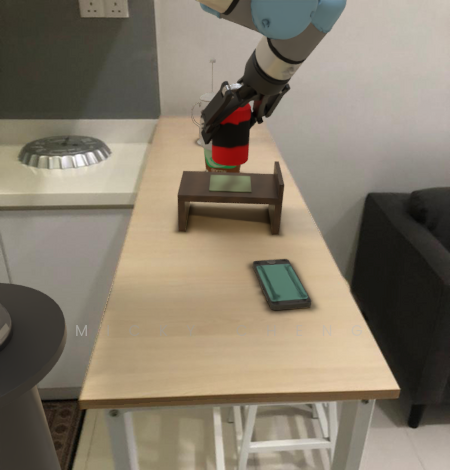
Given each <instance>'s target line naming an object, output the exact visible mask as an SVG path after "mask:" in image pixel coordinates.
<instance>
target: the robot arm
mask: <svg viewBox="0 0 450 470" xmlns="http://www.w3.org/2000/svg"><path fill="white" fill-rule="evenodd" d="M195 1H196V2H198V3H199V6H200V8H201V9H202V11H203V12H205V13H207V14H211V15H212V16H215V17H216V18H218V19H219V20H221V19H223V20H226V21H229V22H231V23H233V24H236V25H239V26H241V27H244V28H246V29H249V30H251V31H253V32H256V33H259V34H260V35H261V37H260V40H259V41H258V42H257V44H256V47H255V48H254V49H253V51H252V53H251V55H250V56H249V58H248V59H247V61H246V63H245V65H244V71H243V75H242V76H241V77H240V78H239V79H237V81H236V83H232V84H230V83H229V81H228V80H224V81H223V82H221V84H220V87H219V90H218V91H217V92H216V93H217V94H216V95H215V96H214V97H213V99H212V100H211V101H210V102H208V103H207V105H206V106H205V107H204V109H202V110H203V111H202V113H201V112H200V116H201V115H202V117H203V120H204V123H205V124H204V126H203V127H204V128H203V130H202V132H201V135H202V137H203V140H204V143H205V145H206V144H209V143H210V141H211V140H212V138H213V137H214V135H215V134H216V132H217V131H218V130H219V128H220V125H219V124H220V123H221V122H222V121H223V120H225V119H226V118H227V117H228V116H229V115H231V114H232V113H233V112H234V111H235V110H237V109H238V108H239V107H241V108H243V107H244V106H245V105H247V104H248V103H249V104H250V102H253V103H252V109H251V119H250V130H251V129H252V128H253V127H254V126H255V125H256V123H257V125H261V124H264V119H263V117H265V118H266V119H267V118H268V119H269V118H270V117H271V116H272V115H273V113H274V112H275V110H276V108H277V107H278V105H279V103H280V102H281V101H282V99H283V98H284V96H285V95H287V93H288V92H289V91H290V90H291V86H290V84H289V83H290V81H291V79H292V77H294V75H296V72H297V71H298V70H299V69H300V67H301V66H302V65H303V64H304V62H305V61H306V60H307V59H308V58H309V56H310V55H311V54H312V53H313V52H314V50H316V48H317V47H318V46H319V44H320V43H321V42H322V40H324V39H325V37H326V36H327V34H329V33H330V32H331V31H332V29H333V27H334V25H336V23H337V21H338V20H339V19H340V17H341V16H342V14H343V12H344V11H345V8H346V6H347V0H195ZM12 334H13V324H12V321H11V318H10V315H9V313H8V312H7V310H6V309H5V308H4V307H3V306H2V305H1V304H0V351H2V350H3V349H4V348H5V346H6V345H7V344H8V342H9V341H10V339H11V337H12Z"/></svg>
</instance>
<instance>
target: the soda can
mask: <svg viewBox="0 0 450 470" xmlns="http://www.w3.org/2000/svg"><path fill="white" fill-rule="evenodd" d="M251 110H252V105H251V104H250V102H249V103H248V104H247V105H245V106H244V107H243V108H241V107H239V108H238V109H237V110H235V111H234V112H233V113H232V114H231V115H229V116H228V117H227V118H226V119H225V120H223V121H222V122H221V123H220V124H219V125H220V128H219V130H218V131H217V132H216V134H215V135H214V137H213V138H212V159H213V161H214V162H215V163H217V164H220V165H225V166H238V165H241V166H242V165H245V164H246V163H247V162H248V160H249V153H250V152H249V151H250V136H251V135H250V133H251V132H250V131H251V129H250V119H251Z"/></svg>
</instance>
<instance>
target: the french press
mask: <svg viewBox="0 0 450 470" xmlns="http://www.w3.org/2000/svg"><path fill="white" fill-rule="evenodd" d="M208 61H209V63H211V64H212V65H211V91H210V92H206V93H204V94H202V95H200V96H199V101H197V102H195V103H194V104H193V105H192V107H191V110H190V119H191V121H192V123H193V124H194V125H195V126H196V127H198V135H199V136H198V138H199V139H197V140H196V144H197V145H198V146H201V141H202V139H203V137H202V135H201V132H202V130H203V128H204V127H203V126H204V124H205V123H204V120H203V117H202V115H201V113H202V111H203V110H204V109H201V110H200V116H199V122H197V120H196V119H195V117H194V108H195V106H196V105H197V104H198V106H199V108H201V107H202V102H205V103H210V101H211V100H212V99H213V97H214V96H215V95H216V94H217V92H214V91H213V88H214V87H213V85H214V84H213V83H214V75H213V74H214V63H216V62H217V61H216V59H215V58H214V57H211V58H209V60H208Z"/></svg>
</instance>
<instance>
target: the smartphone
mask: <svg viewBox="0 0 450 470" xmlns="http://www.w3.org/2000/svg"><path fill="white" fill-rule="evenodd" d="M252 268H253V271H254V274H255V276H256V278H257V280H258V283H259V286H260V287H261V290H262V293H263V294H264V297H265V299H266V302H267V303H268V305H269V308H270V309H271V310H272V311H283V310H293V309H306V308H310V307H311V306H312V298H311V297H310V295H309V293H308V292H307V290H306V288H305V286H304V284H303V283H302V281H301V279H300V278H299V276H298V274H297V272H296V270H295V268H294V266H293V265H292V264H291V262H290V260H289V259H287V258H279V259H276V258H275V259H265V260H263V259H262V260H254V261H253V262H252Z"/></svg>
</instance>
